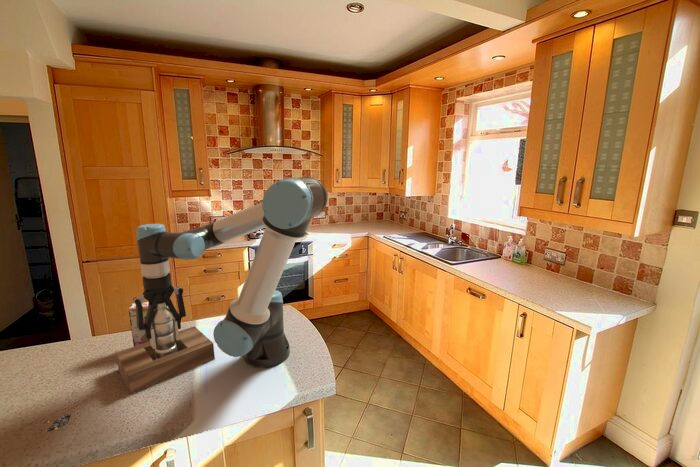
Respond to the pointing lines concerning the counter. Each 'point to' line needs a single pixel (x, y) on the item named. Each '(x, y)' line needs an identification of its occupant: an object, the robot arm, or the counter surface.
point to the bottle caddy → (163, 360)
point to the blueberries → (59, 422)
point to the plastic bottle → (163, 331)
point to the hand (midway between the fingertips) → (165, 342)
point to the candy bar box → (137, 334)
